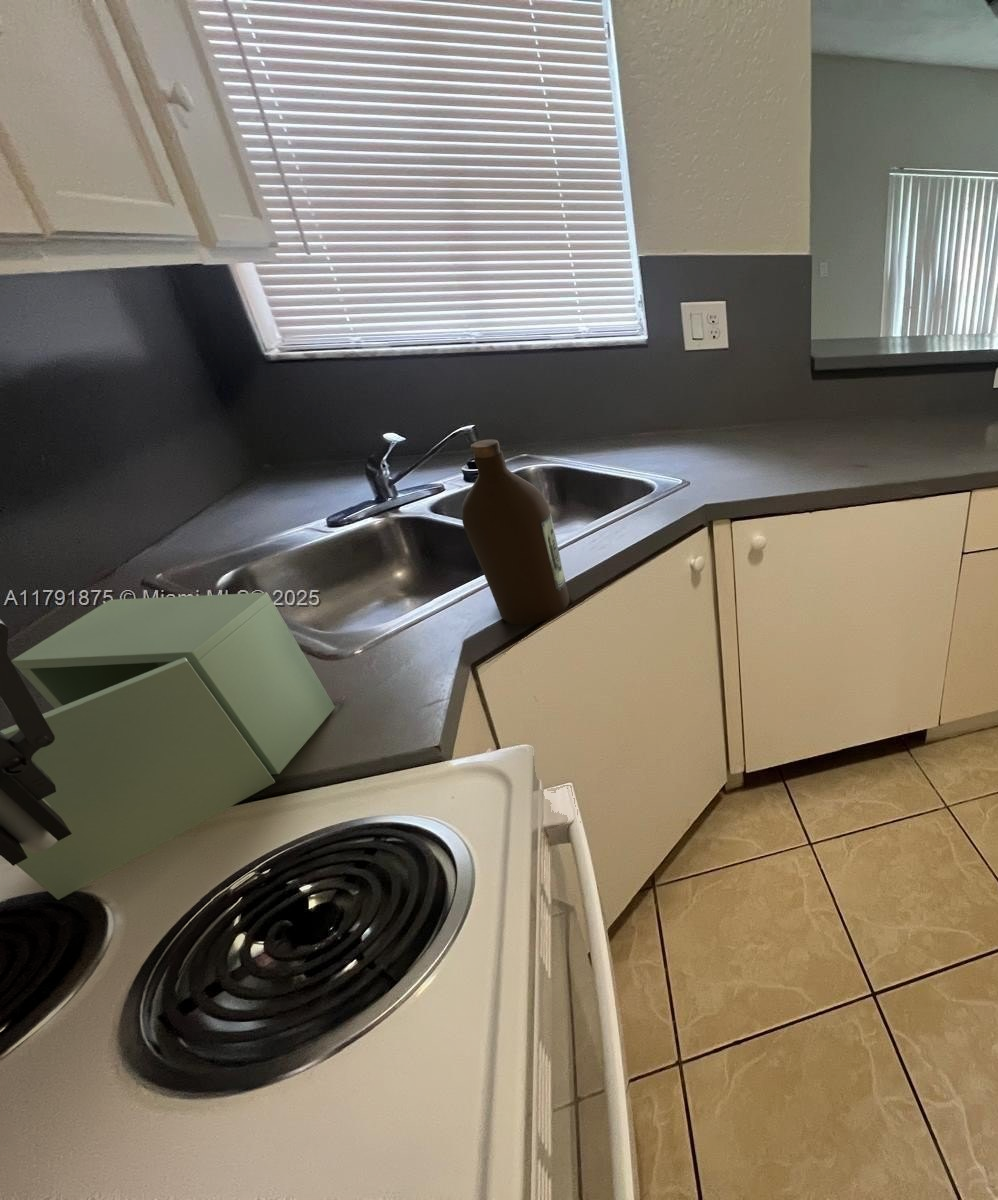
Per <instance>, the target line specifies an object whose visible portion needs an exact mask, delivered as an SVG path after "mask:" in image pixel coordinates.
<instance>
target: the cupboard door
mask: <svg viewBox="0 0 998 1200" xmlns="http://www.w3.org/2000/svg"><path fill="white" fill-rule="evenodd" d="M42 715H43V717H44V719H45V720H46V722H47V724H48V725H49V727H50V729H51V731H52V732H53V734H54V736H55V740H54V742H53V743H52V744H50V745H48V746H46V747H42V748H40V749H39V750H38V751H36V752H35V753H34V754H33V756H32V759H31V760H32V761H33V762H35V763H36V764H37V765H38V766H39V767H40V768H41V769H42V770H43V771H44V772H45V773H46V774H47V775H48V776H49V777H50V778H51V780H52V781H53V783H54V784H55V787H56V792H55V793H53V794H51V795H49V796H47V797H45V798H43V799H42V800H43V801H44V802H45V803H46V804H47V805H48V806H49V807H50V808H51V809H52V810H54V811H55V812H56V813H57V814H58V815H59V816H60V817H61V818H62V820H63V821H64V823H65V824H66V826H67V827H68V829H69V830H70V832H71V833H72V834H71V835H69V836H67V837H65V838H63V839H62V840H60V841H58V840H57V839H56V838H54V837H53V836H52V835H51V834H50V833H49V832H48V831H47V830H46V829H45V828H43V827H42V826H41V825H40V824H39V823H38V822H37V821H36V820H35V819H34V818H32V817H31V816H30V815H29V814H28V813H27V812H26V811H25V810H24V809H23V808H21V807H20V806H19V805H18V804H17V803H16V802H15V801H14V800H13V799H11V798H10V797H9V796H8V795H7V794H6V793H5V792H4V791H3V790H2V789H0V826H1V827H2V828H3V829H4V830H5V831H6V832H8V833H9V834H10V835H11V836H12V837H13V838H14V839H16V840H17V841H18V842H19V843H20V845H21V847H22V849H23V850H24V852H25V854H26V856H27V857H28V858H27V859H25V860H23V861H21V862H19V863H18V864H16V865H15V866H17V867H18V868H19V869H21V871H23V872H24V873H25V874H26V875H28V876H29V877H30V878H31V879H32V880H34V881H35V882H36V883H37V884H38V885H40V886H41V887H42V888H43V890H46V892H48V893H49V894H50V895H52V897H54V898H55V899H56V900H57V901H59V900H61V899H62V898H65V897H67V896H68V895H71V894H72V893H74V892H76V891H77V890H80V889H81V888H83V887H86V886H87V885H89V884H90V883H92V882H94V881H96V880H99V878H102V877H103V876H105V875H107V874H109V873H110V872H113V871H114V870H116V869H118V868H120V867H122V866H124V865H125V864H127V863H130V862H131V861H133V860H135V859H137V858H139V857H141V856H142V855H144V854H146V853H147V852H149V851H152V850H153V849H155V848H157V847H159V846H160V845H163V844H164V843H166V842H168V841H170V840H172V839H174V838H175V837H177V836H180V835H181V834H183V833H185V832H187V831H188V830H190V829H192V828H194V827H196V826H197V825H200V824H201V823H203V822H205V821H207V820H208V819H210V818H212V817H214V816H216V815H217V814H220V813H221V812H223V811H225V810H227V809H229V808H231V807H232V806H234V805H237V804H238V803H240V802H243V800H245V799H248V798H249V797H251V796H253V795H255V794H256V793H259V792H260V791H262V790H264V789H266V788H268V787H269V786H272V785H273V784H275V783H276V781H275V779H274V777H273V776H272V775H270V774H269V772H268V771H267V769H266V768H265V767H264V765H263V764H262V763H261V761H260V760H259V758H258V757H257V756H256V754H255V753H254V751H253V750H252V749H251V747H250V746H249V745H248V743H247V742H246V740H245V739H244V738H243V736H242V735H241V734H240V732H239V731H238V729H237V728H236V727H235V725H234V724H233V723H232V721H231V720H230V718H229V717H228V716H227V714H226V713H225V711H224V710H223V709H222V707H221V706H220V705H219V703H218V702H217V700H216V699H215V698H214V696H213V695H212V694H211V692H210V691H209V689H208V688H207V687H206V685H205V684H204V682H203V681H202V680H201V678H200V677H199V676H198V674H197V673H196V671H195V670H194V669H193V667H192V666H191V665H190V663H189V662H188V660H187V659H186V658H185V657H184V658H181V659H179V660H176V661H174V662H171V663H169V664H166V665H164V666H161V667H159V668H156V669H154V670H151V671H149V672H146V673H144V674H141V675H139V676H136V677H134V678H131V679H129V680H126V681H124V682H121V683H119V684H116V685H114V686H111V687H109V688H106V689H104V690H101V691H99V692H96V693H94V694H91V695H89V696H86V697H84V698H81V699H79V700H76V701H74V702H71V703H69V704H66V705H64V706H61V707H59V708H56V709H55V708H53V709H51V710H48V711H47V712H44V713H42ZM0 731H1V732H2V733H3V734H4V735H6V736H7V737H8V738H11V737H12V736H13V735H14V734H16V733H17V732H18V731H20V729H19V728H18V726H17V724H16V723H15V724H14V725H11V726H9V727H6V728H3V729H1V730H0Z"/></svg>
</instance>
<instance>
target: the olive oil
mask: <svg viewBox="0 0 998 1200" xmlns="http://www.w3.org/2000/svg"><path fill="white" fill-rule="evenodd" d="M500 447H501V446H500V443H499V441H498V440H497V439H483V440H478V441H475V442H473V443H471V445H470V448H471V451H472V453H473V460H474V463H475V466H476V470H477V472H478V476H477V477H476V480H475V481H474V482H473V484H472V486H471V488H470V489H469V491H468V492H467V494H466V496H465V498H464V499H463V502H462V506H461V522H462V526H463V528H464V531H465V533H466V536H467V538H468V540H469V543H470V545H471V547H472V549H473V553H474V554H475V556H476V559H477V561H478V564H479V566H480V568H481V570H482V573H483V576H484V578H485V580H486V582H487V585H488V587H489V591H490V592H491V594H492V597H493V599H494V602H495V605H496V607H497V610H498V612H499V615H500V617H501V619H502V620H503V621H505V623H509V624H512V625H520V626H521V625H522V626H523V625H533V624H537V623H541V622H544V621H547V620H550V619H552V618H555V616H557V615H559V614H560V613H562V612H563V611H564V610H565V609H566V608H568V605H569V604H570V594H569V591H568V587H567V582H566V578H565V573H564V569H563V564H562V560H561V555H560V550H559V545H558V542H557V537H556V533H555V532H556V531H555V525H554V522H553V517H552V512H551V508H550V505H549V503H548V502H547V500H546V498H545V496H544V495H543V493H542V492H541V491H540V489H539V488H538V487H536V486H535V485H534V484H532V483H531V482H529V481H527V480H526V479H524V478H522V477H520V476H519V475H517V474H515V473H514V472H512V471H511V470H509V469H508V467H507V463H506V460H505V456H504V452H503V451H502V450H501V448H500Z"/></svg>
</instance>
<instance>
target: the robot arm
mask: <svg viewBox="0 0 998 1200" xmlns="http://www.w3.org/2000/svg"><path fill="white" fill-rule="evenodd" d="M8 643H9V628H8V626H7V625H6V624H5V623H4V621H3V620H2V619H1V618H0V700H1V702H2V704H3V705H4V707H5V708H6V710H7V712H8V713H9V715H10V716H11V718H12V719H13V721H14V723H15V725H16V724H17V726H18V728H19V729H20V731H18V732H17V733H16V734H14V735H13V736H12V737H11V738H8V737H7V736H6V735H4V734H3V733H2V732H1V730H0V789H2V790H3V791H4V792H5V793H6V794H7V795H8V796H9V797H10V798H11V799H13V800H14V801H15V802H16V803H17V804H18V805H19V806H20V807H21V808H23V809H24V810H25V811H26V812H27V813H28V814H29V815H30V816H31V817H32V818H34V819H35V820H36V821H37V822H38V823H39V824H40V825H41V826H42V827H43V828H45V829H46V830H47V831H48V832H49V833H50V834H51V835H52V836H53V837H54V838H56V839H57V840H58V841H60V840H62V839H63V838H65V837H67V836H69V835H71V834H72V833H71V832H70V830H69V829H68V827H67V826H66V824H65V823H64V821H63V820H62V818H61V817H60V816H59V815H58V814H57V813H56V812H55V811H54V810H52V809H51V808H50V807H49V806H48V805H47V804H46V803H45V802H44V801H43V800H42V799H43V798H45V797H47V796H49V795H51V794H53V793H55V792H56V787H55V784H54V783H53V781H52V780H51V778H50V777H49V776H48V775H47V774H46V773H45V772H44V771H43V770H42V769H41V768H40V767H39V766H38V765H37V764H36V763H35V762H33V761H32V760H31V759H32V756H33V754H34V753H35V752H36V751H38V750H39V749H40V748H42V747H46V746H48V745H50V744H52V743H53V742H54V740H55V736H54V734H53V732H52V731H51V729H50V727H49V725H48V724H47V722H46V720H45V719H44V717H43V715H42V714H43V713H42V712H41V710H40V708H39V706H38V705H37V703H36V702H35V699H34V698H33V696H32V694H31V693H30V690H29V689H28V687H27V685H26V684H25V682H24V681H23V679H22V678H21V676H20V673H19V672H18V671H17V670H18V669H16V666H15V665H14V664H13V663H12V662H11V660H12V659H11V658H10V657H9V655H8V646H9V645H8ZM0 856H1V857H2V858H3V859H4V860H6V861H7V862H8V863H9V864H11V865H12V866H13V867H14V866H17V865H16V864H18V863H19V862H21V861H23V860H25V859H27V858H28V857H27V856H26V854H25V852H24V850H23V849H22V847H21V845H20V843H19V842H18V841H17V840H16V839H14V838H13V837H12V836H11V835H10V834H9V833H8V832H6V831H5V830H4V829H3V828H2V827H1V826H0Z"/></svg>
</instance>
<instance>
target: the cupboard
mask: <svg viewBox="0 0 998 1200" xmlns="http://www.w3.org/2000/svg"><path fill="white" fill-rule="evenodd" d="M280 613H281V612H279V610H278V608H277V606H276V604H275V603H274V602H273V600H272V598H271V597H270V595H269V594H268V592H251V593H250V592H249V593H248V592H247V593H230V594H209V595H208V594H207V595H187V596H186V595H185V596H164V597H141V598H121V599H119V598H118V599H109V600H107V601H105V602H104V603H102V604H100V605H98V606H97V607H95V608H94V609H93V610H91V611H89V612H88V613H86V614H84V615H83V616H81V617H80V618H77V619H76V620H74V621H73V622H71V623H70V624H68V625H66V626H65V627H63V628H62V629H59V630H58V631H57V632H55V633H53V634H52V635H50V636H49V637H47V638H45V639H43V640H42V641H41V642H38V643H37V644H36V645H34V646H33V647H31V648H29V649H28V650H26V651H24V652H23V653H21V654H20V655H18V656H16V657H14V658H13V659H10V660H11V662H12V663H13V665H14V667H15V668H17V670H18V671H19V672H20V673H21V674H22V675H23V676H24V677H25V679H26V680H28V681H29V682H30V684H31V685H32V686H33V687H34V688H35V689H36V691H38V692H39V693H40V695H42V697H43V698H44V699H45V700H46V701H47V702H48V704H50V706H52V708H53V709H56V708H59V707H61V706H64V705H66V704H69V703H71V702H74V701H76V700H79V699H81V698H84V697H86V696H89V695H91V694H94V693H96V692H99V691H101V690H104V689H106V688H109V687H111V686H114V685H116V684H119V683H121V682H124V681H126V680H129V679H131V678H134V677H136V676H139V675H141V674H144V673H146V672H149V671H151V670H154V669H156V668H159V667H161V666H164V665H166V664H169V663H171V662H174V661H176V660H179V659H181V658H184V657H185V658H186V659H187V660H188V662H189V663H190V665H191V666H192V667H193V669H194V670H195V671H196V673H197V674H198V676H199V677H200V678H201V680H202V681H203V682H204V684H205V685H206V687H207V688H208V689H209V691H210V692H211V694H212V695H213V696H214V698H215V699H216V700H217V702H218V703H219V705H220V706H221V707H222V709H223V710H224V711H225V713H226V714H227V716H228V717H229V718H230V720H231V721H232V723H233V724H234V725H235V727H236V728H237V729H238V731H239V732H240V734H241V735H242V736H243V738H244V739H245V740H246V742H247V743H248V745H249V746H250V747H251V749H252V750H253V751H254V753H255V754H256V756H257V757H258V758H259V760H260V761H261V763H262V764H263V765H264V767H265V768H266V769H267V771H268V772H269V774H270V775H271V776H272V775H280V773H282V771H283V770H284V769H285V768H286V766H287V765H288V764H289V763H290V762H291V761H292V760H293V758H294V757H295V756H296V755H297V754H298V752H299V751H300V750H301V749H302V747H303V746H304V745H305V744H306V743H307V742H308V740H309V739H310V738H311V737H312V736H313V735H314V733H316V731H317V730H318V729H319V728H320V726H321V725H322V724H323V723H324V722H325V720H326V719H327V718H328V717H329V716H330V714H331V713H332V712H333V711H334V710H335V709H336V706H335V705H334V703H333V701H332V699H331V698H330V696H329V694H328V693H327V691H326V689H325V688H324V686H323V684H322V683H321V680H320V679H319V677H318V675H317V674H316V672H315V671H314V669H313V668H312V665H311V664H310V662H309V661H308V659H307V658H306V656H305V654H304V651H302V649H301V646H300V645H299V643H298V642H297V640H296V638H295V637H294V635H293V633H292V632H291V630H290V628H289V627H288V625H287V623H286V622H285V620H284V618H283V617H282V615H281V614H280Z"/></svg>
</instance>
